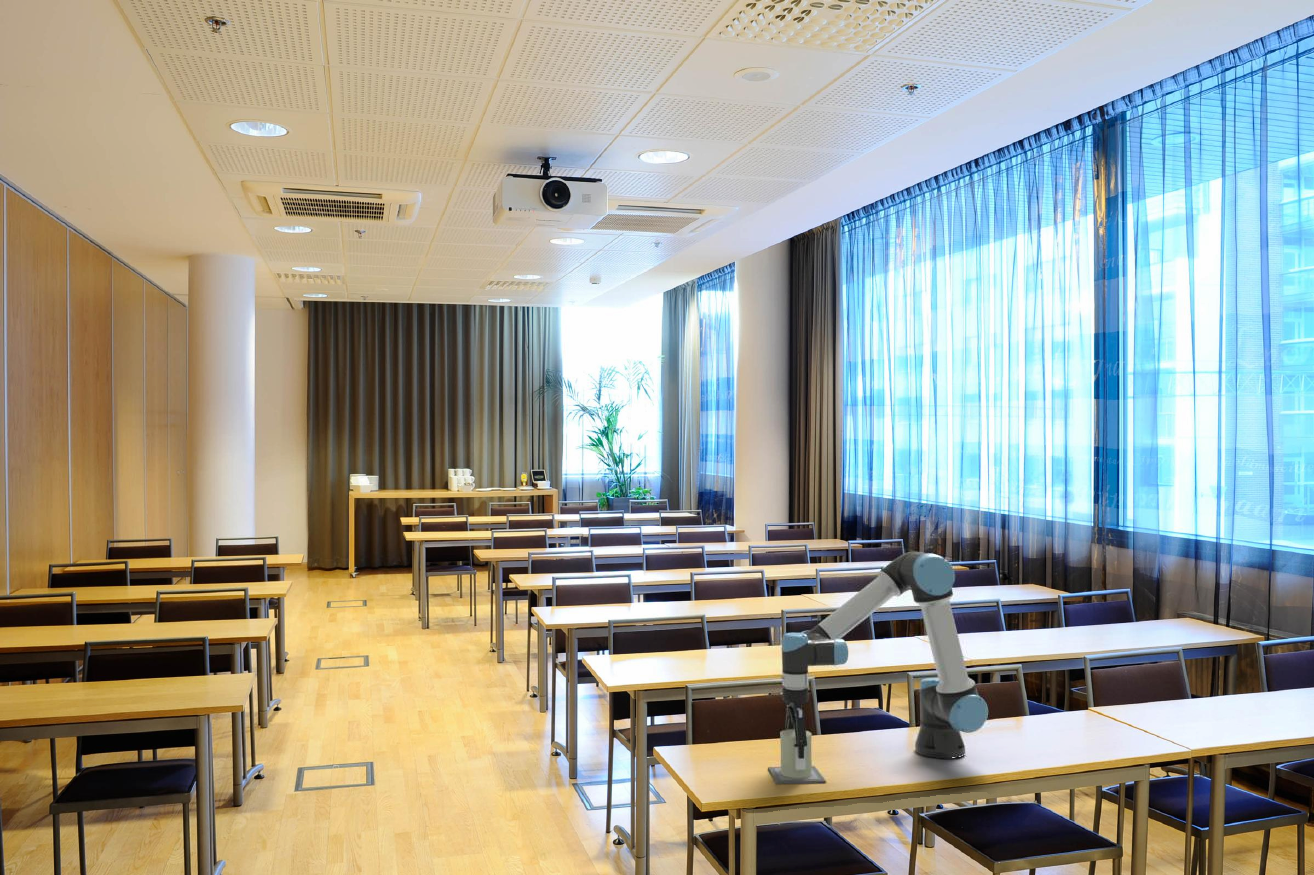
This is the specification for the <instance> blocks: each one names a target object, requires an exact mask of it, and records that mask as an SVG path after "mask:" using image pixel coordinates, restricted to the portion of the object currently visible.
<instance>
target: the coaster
mask: <svg viewBox="0 0 1314 875" xmlns="http://www.w3.org/2000/svg"><path fill="white" fill-rule="evenodd" d="M767 769H768V771H769V773H770V775H771V777H772V778H773V780H774V781H775V783H776V785H793V784H794V785H795V784H796V785H797V784H798V785H800V784H826V783H827V780H826V779H825V778H824V776H823V775H822V773H821V772H820V771H819V770H818V769H817V767H816V766H815V765H812V775H811V776H810V777H806V778H790V777H786V776H783V775H782V774H781V773H780V771H781V766H768V767H767Z"/></svg>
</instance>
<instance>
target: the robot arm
mask: <svg viewBox="0 0 1314 875" xmlns="http://www.w3.org/2000/svg"><path fill="white" fill-rule="evenodd" d="M955 581H956V574H955V570H954V568H953V565H952V564H951V563H950V562H949V561H948V559H946V558H945V557H943V556H940V555H938V554H935V553H932V552H931V553H929V552H928V553H927V552H926V553H925V552H920V551H915V550H914V551H909V552H905V553H903V554H902V555H899V556H898V557H897V558H895V559H893V560H892V561H890V563H888V564H887V565H886V566H885V567H883V568H882V569H881V570H879V571H878V574H877V577H876V578H875V579H874V580H872V581H871V582H870V583H869V584H866V586H865V587H864V588H862V589H860V590H859V591H858V592H857V593H856V594H855V595H853V596H852V597H851V598H850V599H848V600H847V601H846V602H845V603H843V604H842V605H841V606H839V607H838V608H837V609H835V610H834V611H833V612H832V613H831V614H830V615H828V616H827V617H825V619H823V620H822V621H820V622H819V623H818V624H817V625H816V626H814V627H813V628H811V629H810V630H804V631H801V632H786V633H784V634H783V636H782V638H781V663H782V664H781V667H782V674H781V675H780V679H781V681H782V683H781V684H782V686H783V687H782V689H781V690H782V691H781V692H782V700H783V702H785V703H786V711H785V712H786V714H785V727H784V728H785V729H784V730H789V729H794V730H795V738H796V744H794V747H795V756H796V770H806V761H805V747H806V746H807V738H806V731H807V730H806V729H807V727H806V719H805V718H806V715H805V714H806V711H805V709H804V708H803V706H802V704H804V703H807V702H808V701H809V688H808V687H809V667H815V666H816V667H819V666H824V667H825V666H834V667H835V666H838V665H839V666H841V665H845V664H846V663H847V661H848V659H849V648H848V647H849V646H848V645H847V642H846V641H845V639H843V637H845V636H846V634H849V632H850V631H852V630H853V629H854V628H855V627H857V626H858V625H859V624H861V623H862V622H863V621H864V620H866V619H867V618H868V617H870V616H871V615H872V614H873V613H874V612H876V611H877V610H878V609H880V608H881V607H882V606H884V604H886V603H887V602H888V601H890V600H891V599H893V597H901V595H903V594H904V593H906V592H908V591H910V590H911V594H912V598H913V601H914V603H915V604H917V605H918V606H920V609H921V613H922V617H923V621H924V626H925V629H926V633H927V638H928V641H929V645H930V650H931V653H932V657H933V661H934V666H935V671H936V673H937V677H928V678H922V679H921V680H920V682H919V690H918V691H919V711H920V712H919V714H920V715H919V716H920V717H919V718H920V727H919V730H918V732H917V736H916V739H915V742H914V743H915V744H914V749H915V752H916V754H918V753H919V755H921V754H922V755H921V756H923V755H925V756H924V757H927V756H929V758H932V757H937V758H936V759H940V758H952V757H959V756H962V755H964V754H965V755H966V746H965V743H964V740H963V737H962V734H961V732H962V733H965V734H971V733H974V732H978V730H980V729H982V727H983V726H984V724H985V723H986V721H987V720H988V715H989V709H988V708H989V707H988V704H987V702H986V701H985V700H984V698H983V697H981V695H979V693H978V690H977V686H976V682H975V680H973V679H972V678H970V677H969V674H968V671H967V666H966V663H965V659H964V655H963V651H962V650H963V649H962V647H961V643H960V639H959V635H958V631H957V626H956V623H955V622H956V621H955V618H954V615H953V610H952V606H951V602H950V601H951V599H952V597H953V596H954V591H953V585H954V584H955ZM800 741H803V742H800ZM965 755H964V756H965Z"/></svg>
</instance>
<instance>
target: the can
mask: <svg viewBox="0 0 1314 875" xmlns="http://www.w3.org/2000/svg"><path fill="white" fill-rule="evenodd" d="M779 735H780V736H779V737H780V767H781V771H780V773H781V774H782V775H783V776H786V777H790V778H806V777H810V776H811V775H812V766H813V765H812V736H813V735H812V732H810V731H808V730H806V738H807V746H806V747H805V761H806V770H796V756H795V747H794V744H796V738H795V730H794V729H789V730H786V729H783V730H782V731H780V732H779ZM800 742H803V741H800Z"/></svg>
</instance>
